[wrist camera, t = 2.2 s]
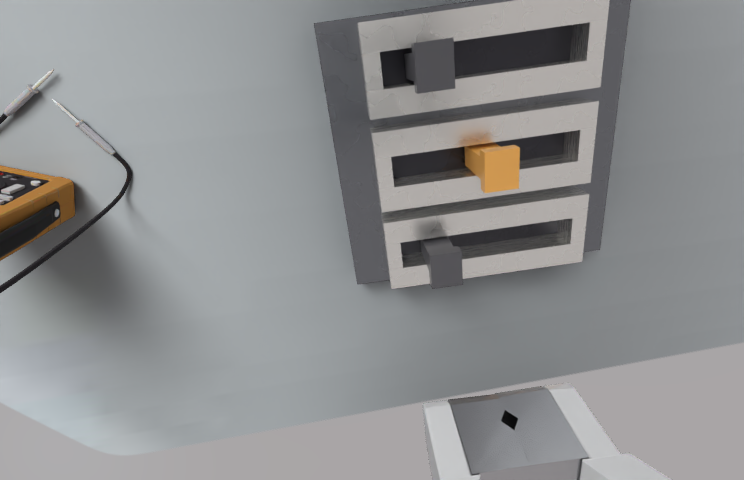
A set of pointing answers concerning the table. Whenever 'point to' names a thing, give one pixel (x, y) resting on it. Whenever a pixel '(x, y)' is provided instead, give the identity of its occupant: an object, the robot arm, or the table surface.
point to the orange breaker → (494, 166)
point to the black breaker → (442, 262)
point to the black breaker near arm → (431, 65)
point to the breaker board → (475, 132)
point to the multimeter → (40, 197)
